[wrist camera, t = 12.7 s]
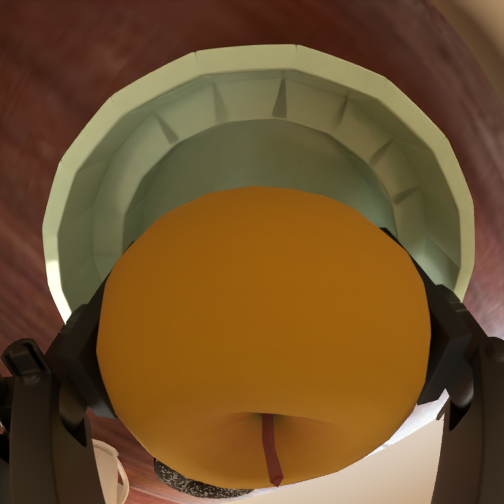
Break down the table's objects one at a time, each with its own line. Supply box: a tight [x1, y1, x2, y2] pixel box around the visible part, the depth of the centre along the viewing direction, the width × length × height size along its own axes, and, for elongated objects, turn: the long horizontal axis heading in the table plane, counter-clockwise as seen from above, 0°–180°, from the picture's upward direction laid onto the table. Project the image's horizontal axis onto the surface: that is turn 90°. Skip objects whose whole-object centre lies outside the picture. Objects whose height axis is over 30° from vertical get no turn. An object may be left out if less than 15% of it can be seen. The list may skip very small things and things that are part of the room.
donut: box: [154, 457, 254, 499], centre depth 25 cm, size 11×12×4 cm
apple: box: [96, 186, 431, 489], centre depth 9 cm, size 9×9×9 cm
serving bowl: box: [42, 44, 475, 324], centre depth 12 cm, size 15×15×6 cm
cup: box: [92, 439, 129, 504], centre depth 25 cm, size 7×10×8 cm
